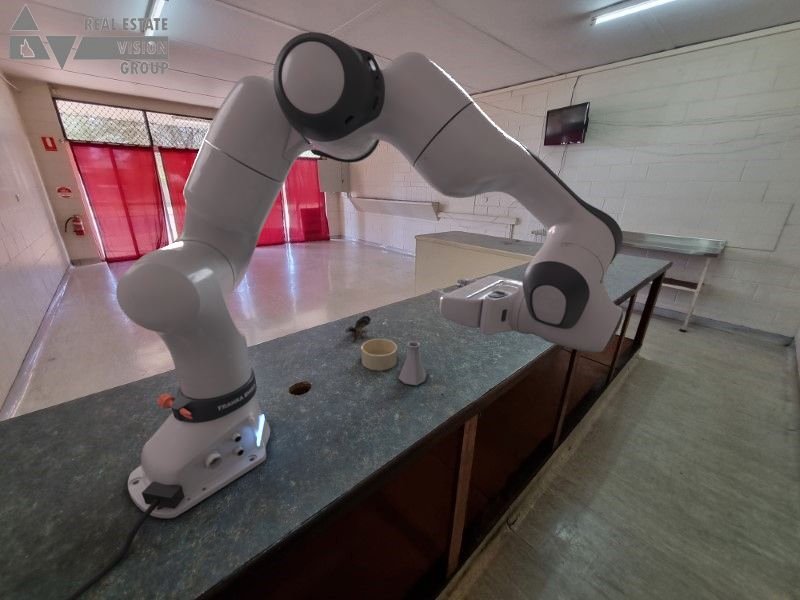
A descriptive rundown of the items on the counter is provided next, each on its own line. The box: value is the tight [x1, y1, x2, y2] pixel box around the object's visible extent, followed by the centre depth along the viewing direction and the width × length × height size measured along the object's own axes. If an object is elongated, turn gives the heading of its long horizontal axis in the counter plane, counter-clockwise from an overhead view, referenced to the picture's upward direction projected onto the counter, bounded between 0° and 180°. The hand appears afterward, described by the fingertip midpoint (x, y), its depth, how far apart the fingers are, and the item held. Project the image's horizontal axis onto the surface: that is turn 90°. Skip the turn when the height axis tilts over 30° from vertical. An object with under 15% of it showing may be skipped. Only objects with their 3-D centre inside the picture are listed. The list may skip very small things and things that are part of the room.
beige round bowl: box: [360, 338, 398, 372], centre depth 89 cm, size 10×10×4 cm
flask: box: [397, 340, 427, 386], centre depth 81 cm, size 7×7×10 cm
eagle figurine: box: [345, 315, 372, 343], centre depth 103 cm, size 8×7×9 cm
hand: (446, 287), depth 65 cm, fingers open, 8 cm apart
